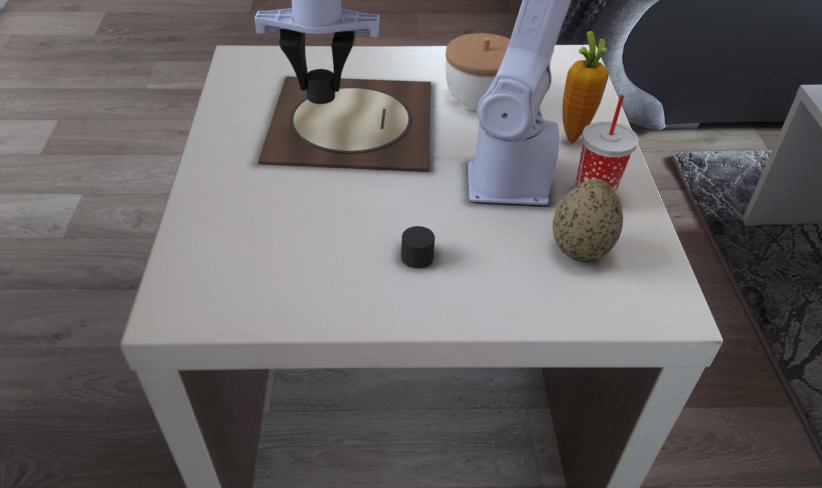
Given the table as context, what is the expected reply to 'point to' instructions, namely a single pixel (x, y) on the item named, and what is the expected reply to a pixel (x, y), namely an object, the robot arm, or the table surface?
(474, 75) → the trinket box
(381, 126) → the face board
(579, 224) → the decorative egg
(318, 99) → the eye puck
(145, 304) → the table surface
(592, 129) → the beverage cup
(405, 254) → the eye puck
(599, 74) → the carrot
